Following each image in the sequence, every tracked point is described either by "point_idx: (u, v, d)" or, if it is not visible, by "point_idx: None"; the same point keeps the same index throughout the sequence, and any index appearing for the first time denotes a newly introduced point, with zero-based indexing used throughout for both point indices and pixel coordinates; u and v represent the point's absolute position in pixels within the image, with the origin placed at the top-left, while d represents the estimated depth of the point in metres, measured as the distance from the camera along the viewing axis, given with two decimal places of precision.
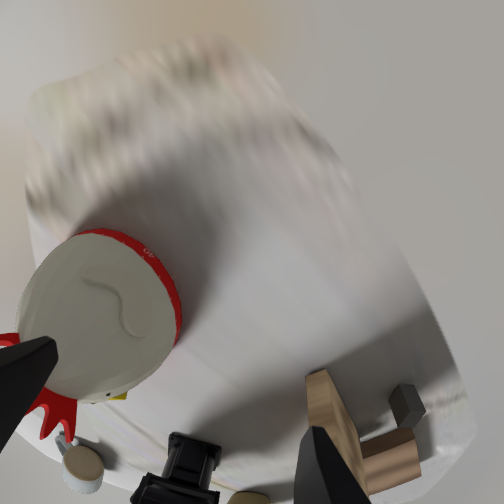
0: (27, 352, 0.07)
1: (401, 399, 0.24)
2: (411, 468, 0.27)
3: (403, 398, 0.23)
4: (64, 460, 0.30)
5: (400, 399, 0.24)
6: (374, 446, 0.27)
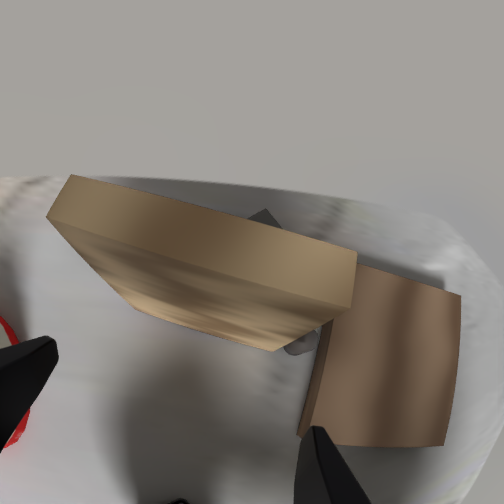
0: (27, 352, 0.07)
1: None
2: (426, 296, 0.22)
3: None
4: None
5: None
6: None
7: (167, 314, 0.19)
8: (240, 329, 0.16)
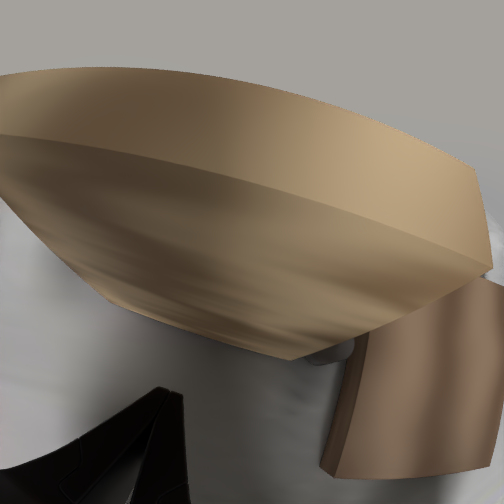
0: (147, 413, 0.07)
1: None
2: (473, 288, 0.16)
3: None
4: None
5: None
6: None
7: (146, 308, 0.13)
8: (249, 330, 0.11)
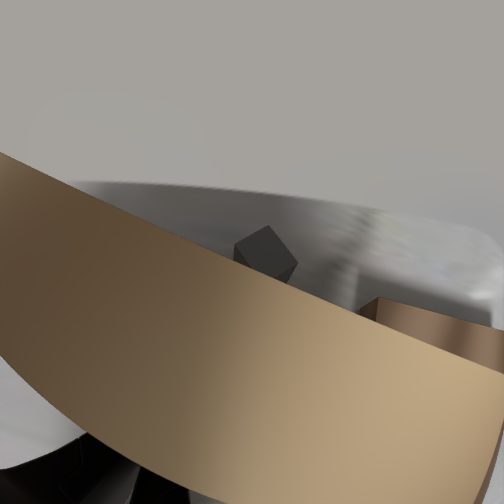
0: None
1: None
2: (478, 340, 0.14)
3: None
4: None
5: None
6: None
7: None
8: None
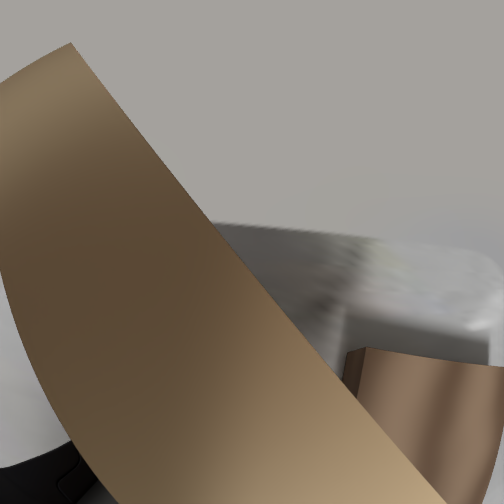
0: None
1: None
2: (472, 381, 0.13)
3: None
4: None
5: None
6: None
7: None
8: None
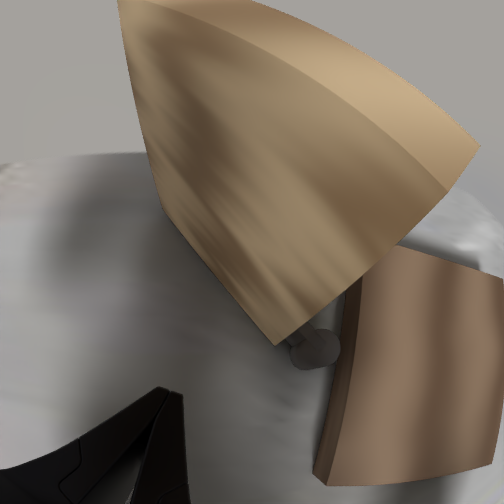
0: (146, 413, 0.07)
1: None
2: (467, 281, 0.16)
3: None
4: None
5: None
6: (350, 319, 0.16)
7: (185, 218, 0.15)
8: (249, 268, 0.11)
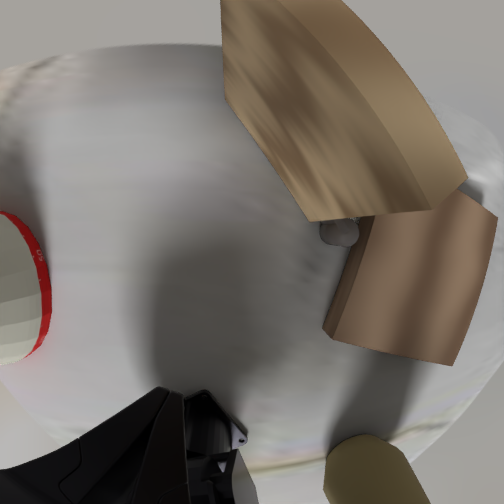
0: (147, 413, 0.07)
1: None
2: (466, 209, 0.19)
3: None
4: None
5: None
6: None
7: (252, 117, 0.17)
8: (306, 172, 0.15)
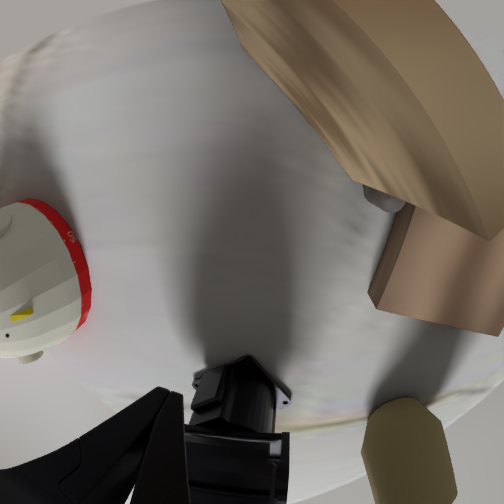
0: (147, 413, 0.07)
1: None
2: None
3: None
4: None
5: None
6: None
7: (273, 70, 0.13)
8: (340, 136, 0.12)
